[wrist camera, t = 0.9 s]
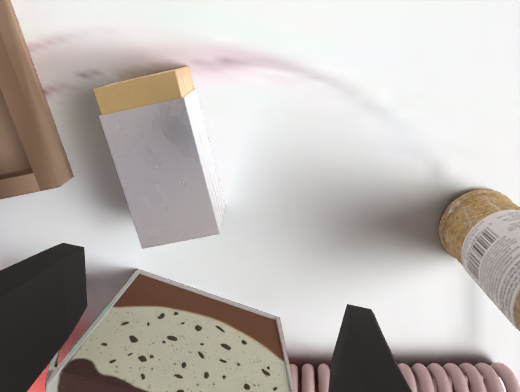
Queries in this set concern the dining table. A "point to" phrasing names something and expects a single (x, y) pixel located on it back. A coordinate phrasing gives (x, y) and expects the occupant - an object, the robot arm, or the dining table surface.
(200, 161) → the white yellow block
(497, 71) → the dining table surface
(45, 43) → the dining table surface
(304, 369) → the coil
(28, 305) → the robot arm
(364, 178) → the dining table surface
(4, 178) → the wooden tray
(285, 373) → the food container
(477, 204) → the sprinkles bottle
